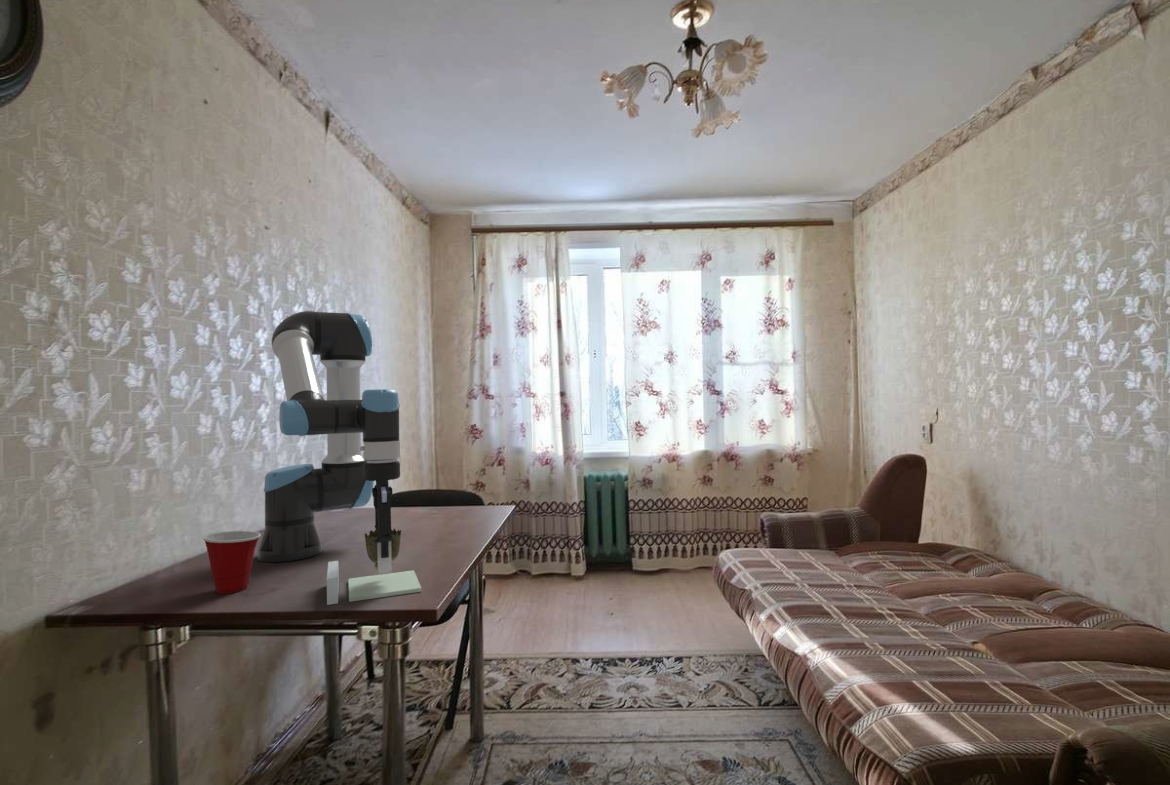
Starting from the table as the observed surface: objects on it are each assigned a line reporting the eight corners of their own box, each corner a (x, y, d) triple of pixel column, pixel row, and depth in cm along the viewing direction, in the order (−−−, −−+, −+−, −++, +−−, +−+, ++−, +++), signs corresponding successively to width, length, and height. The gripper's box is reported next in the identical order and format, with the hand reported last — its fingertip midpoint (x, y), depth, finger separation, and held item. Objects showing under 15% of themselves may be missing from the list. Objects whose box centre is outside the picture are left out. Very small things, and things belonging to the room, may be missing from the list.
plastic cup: (262, 591, 124) (261, 535, 124) (201, 601, 119) (200, 542, 119) (261, 578, 133) (261, 526, 134) (205, 587, 128) (204, 532, 128)
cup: (390, 574, 121) (389, 535, 121) (358, 573, 123) (357, 535, 123) (408, 564, 128) (407, 528, 129) (377, 563, 130) (377, 527, 130)
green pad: (348, 582, 129) (348, 578, 129) (414, 573, 135) (413, 570, 135) (349, 601, 116) (348, 597, 116) (421, 591, 122) (421, 587, 122)
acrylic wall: (328, 584, 128) (328, 561, 128) (338, 583, 129) (338, 560, 129) (327, 604, 115) (326, 579, 115) (338, 603, 116) (337, 577, 116)
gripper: (361, 458, 134) (363, 559, 133) (364, 466, 115) (366, 583, 115) (396, 456, 137) (397, 555, 136) (404, 463, 118) (406, 577, 118)
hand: (383, 567), depth 126 cm, fingers closed on cup, 7 cm apart
